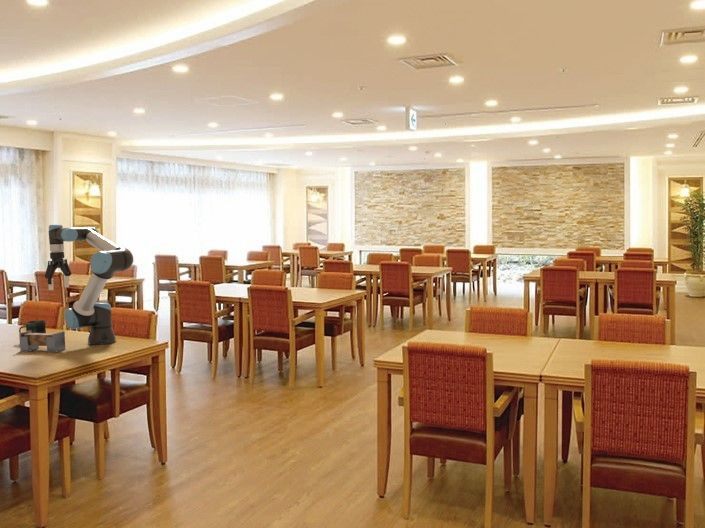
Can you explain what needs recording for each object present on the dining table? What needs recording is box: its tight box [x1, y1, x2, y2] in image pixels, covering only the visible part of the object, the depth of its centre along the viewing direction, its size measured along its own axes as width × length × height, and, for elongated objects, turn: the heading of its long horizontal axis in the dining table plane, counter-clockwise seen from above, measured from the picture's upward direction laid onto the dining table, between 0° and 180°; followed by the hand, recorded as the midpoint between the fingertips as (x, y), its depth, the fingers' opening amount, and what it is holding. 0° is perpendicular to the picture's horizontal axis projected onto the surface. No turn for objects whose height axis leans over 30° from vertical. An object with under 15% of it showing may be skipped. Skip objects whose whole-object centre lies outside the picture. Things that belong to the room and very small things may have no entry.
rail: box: [24, 332, 54, 347], centre depth 380 cm, size 18×5×6 cm, turn 76°
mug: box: [18, 319, 47, 333], centre depth 405 cm, size 11×15×12 cm
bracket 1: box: [18, 330, 40, 352], centre depth 382 cm, size 5×9×10 cm, turn 166°
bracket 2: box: [46, 330, 66, 353], centre depth 378 cm, size 5×9×10 cm, turn 166°
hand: (59, 288), depth 397 cm, fingers open, 13 cm apart
